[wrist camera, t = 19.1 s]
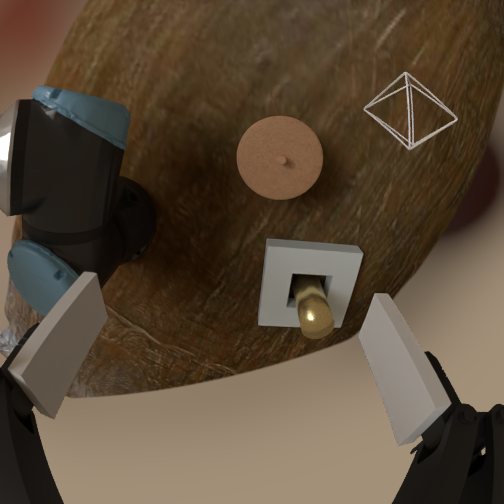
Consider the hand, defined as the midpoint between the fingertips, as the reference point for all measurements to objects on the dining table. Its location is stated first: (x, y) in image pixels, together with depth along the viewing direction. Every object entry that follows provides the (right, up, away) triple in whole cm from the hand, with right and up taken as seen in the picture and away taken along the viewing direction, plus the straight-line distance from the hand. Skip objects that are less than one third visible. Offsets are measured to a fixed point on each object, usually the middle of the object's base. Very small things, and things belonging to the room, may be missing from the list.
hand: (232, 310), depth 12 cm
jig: (+11, -3, +37) cm, 38 cm away
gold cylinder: (+10, -3, +37) cm, 38 cm away
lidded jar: (+4, +17, +27) cm, 32 cm away
